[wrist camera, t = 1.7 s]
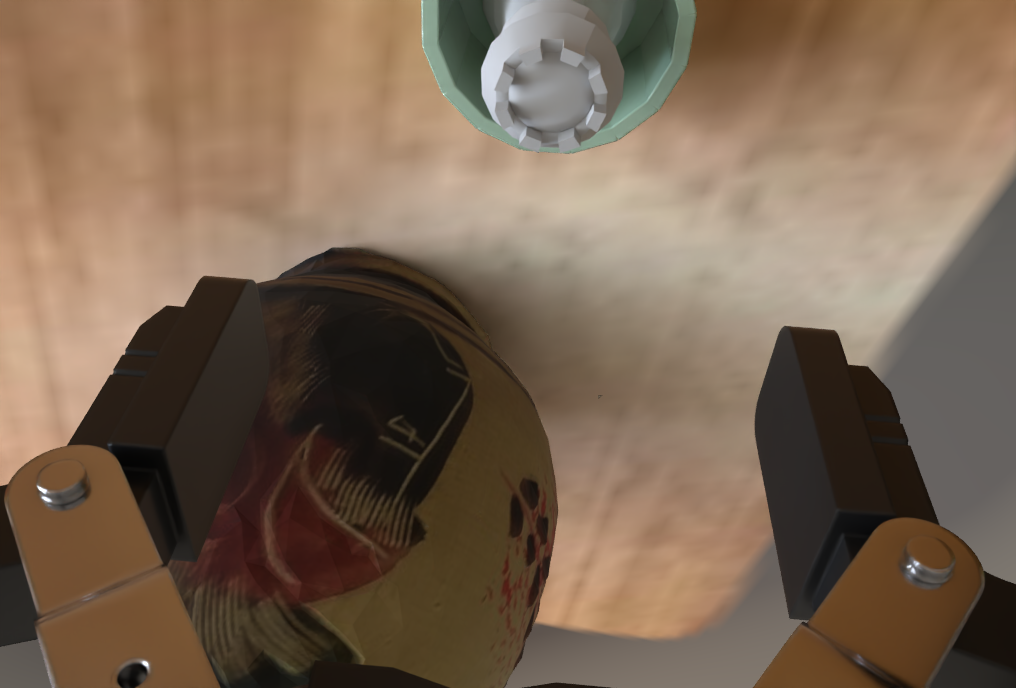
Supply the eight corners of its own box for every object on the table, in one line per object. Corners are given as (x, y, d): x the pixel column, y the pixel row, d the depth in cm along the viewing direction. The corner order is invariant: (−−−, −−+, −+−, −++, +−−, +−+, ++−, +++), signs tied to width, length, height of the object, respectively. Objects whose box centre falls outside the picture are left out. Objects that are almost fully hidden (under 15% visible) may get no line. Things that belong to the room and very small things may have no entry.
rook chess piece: (540, -142, 24) (522, -46, 18) (672, -42, 25) (697, 78, 19) (454, -1, 26) (412, 124, 20) (577, 82, 28) (573, 223, 22)
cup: (442, -168, 24) (418, -128, 21) (702, -150, 24) (719, -107, 21) (442, 80, 28) (422, 143, 25) (661, 96, 28) (670, 162, 25)
